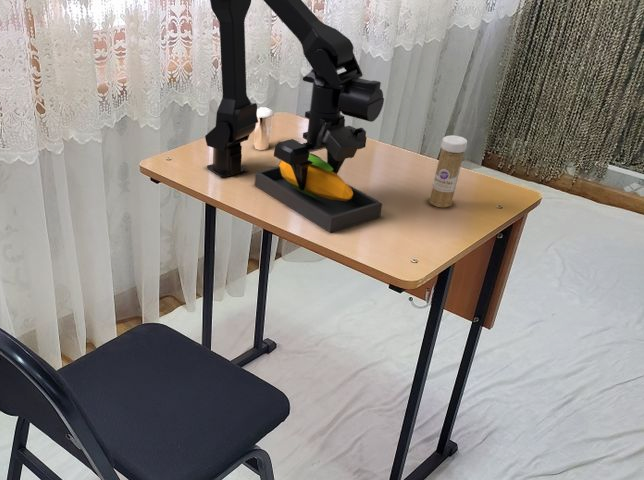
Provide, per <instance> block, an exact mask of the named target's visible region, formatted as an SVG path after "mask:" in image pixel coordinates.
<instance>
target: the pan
mask: <svg viewBox="0 0 644 480" xmlns="http://www.w3.org/2000/svg"><path fill="white" fill-rule="evenodd" d="M279 170H280V166H279V165H278V166H275V167H271V168H267V169H264V170H263V169H262V170H259V171H256V172H255V173H254V174H255V175H254V187H256V188H258V189H259V190H261V191H263V192H264V193H266V194H267V195H269V196H270V197H272V198H274V199H275V200H276V201H279V202H280V203H282V204H283V205H285V206H287V207H288V208H290V209H291V210H293V211H295V212H296V213H298V214H299V215H301V216H302V217H304V218H306V219H307V220H309V221H311V222H312V223H314V225H317V226H319V227H320V228H322V229H323V230H325V231H327V232H328V233H333V232H336V231H339V230H343V229H346V228H349V227H353V226H355V225H360V224H363V223H365V222H368V221H372V220H375V219H378V218H380V217H381V213H382V208H383V202H381V201H379V200H378V199H375V198H374V197H372V196H370V195H368V194H367V193H364V192H362V191H360V190H359V189H357V188H356V187H353V186H351V185H350V184H348V183H346V184H347V185H348V186H349V187H350V188H351V189H352V191H353V196H352V199H350V200H347V201H340V200H329V199H326V198H323V197H320V196H317V195H314V196H315V197H316V198H318V199H316V198H314V197H312V196H309V195H307V194H305V193H303V192H301V191H299V190H297V189H295V188H294V187H292V186H291V185H290V184H288V183H287V182H286V181H285V180H284V178H283V177H282V176H281V173H280V171H279ZM304 191H305V190H304ZM306 192H307V191H306ZM308 193H309V192H308ZM310 194H311V193H310ZM312 195H313V194H312ZM319 199H320V200H319Z"/></svg>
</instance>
